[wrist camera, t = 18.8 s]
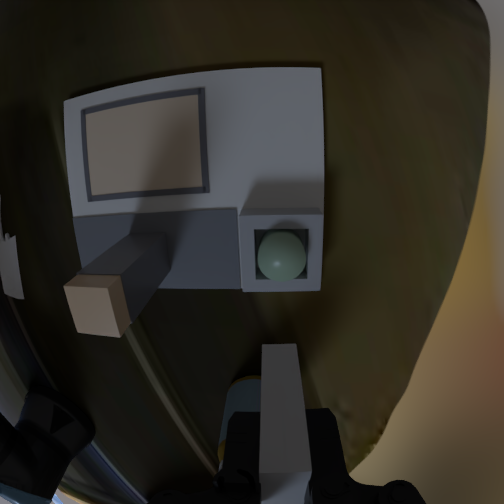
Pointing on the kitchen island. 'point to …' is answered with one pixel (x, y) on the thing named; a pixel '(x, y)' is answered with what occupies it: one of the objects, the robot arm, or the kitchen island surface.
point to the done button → (281, 254)
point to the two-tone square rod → (118, 284)
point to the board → (202, 171)
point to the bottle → (239, 404)
